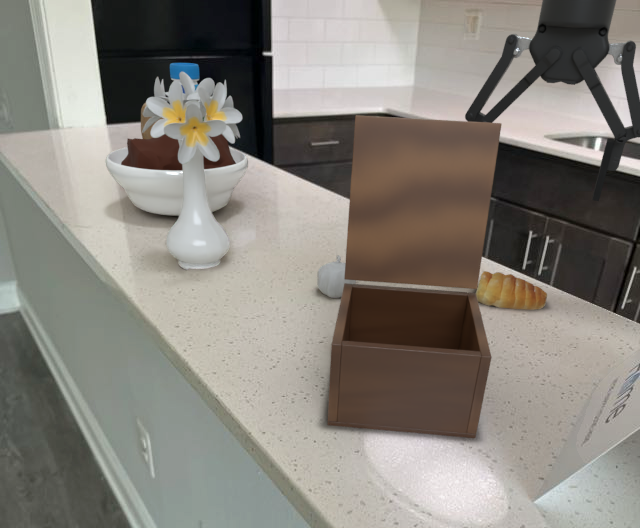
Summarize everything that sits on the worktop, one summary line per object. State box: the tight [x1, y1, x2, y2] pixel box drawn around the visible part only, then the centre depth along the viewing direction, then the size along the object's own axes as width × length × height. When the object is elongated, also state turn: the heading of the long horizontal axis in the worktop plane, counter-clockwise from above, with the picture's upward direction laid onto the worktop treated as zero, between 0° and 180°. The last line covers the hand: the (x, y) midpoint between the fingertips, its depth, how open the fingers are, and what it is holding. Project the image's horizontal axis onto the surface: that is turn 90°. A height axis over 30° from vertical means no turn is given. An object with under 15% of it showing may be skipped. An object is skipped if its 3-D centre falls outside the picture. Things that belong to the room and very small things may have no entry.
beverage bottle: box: [169, 62, 200, 94], centre depth 158 cm, size 8×8×20 cm
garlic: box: [316, 254, 357, 299], centre depth 88 cm, size 6×5×5 cm
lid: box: [344, 114, 502, 290], centre depth 65 cm, size 16×14×1 cm
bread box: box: [326, 283, 492, 439], centre depth 65 cm, size 15×14×9 cm
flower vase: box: [142, 72, 243, 271], centre depth 91 cm, size 13×18×25 cm
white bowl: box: [104, 134, 249, 217], centre depth 118 cm, size 25×25×15 cm
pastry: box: [475, 270, 548, 311], centre depth 88 cm, size 9×7×4 cm
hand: (537, 191), depth 81 cm, fingers open, 13 cm apart
